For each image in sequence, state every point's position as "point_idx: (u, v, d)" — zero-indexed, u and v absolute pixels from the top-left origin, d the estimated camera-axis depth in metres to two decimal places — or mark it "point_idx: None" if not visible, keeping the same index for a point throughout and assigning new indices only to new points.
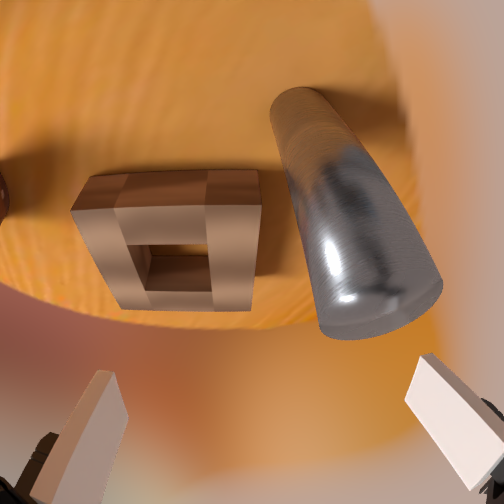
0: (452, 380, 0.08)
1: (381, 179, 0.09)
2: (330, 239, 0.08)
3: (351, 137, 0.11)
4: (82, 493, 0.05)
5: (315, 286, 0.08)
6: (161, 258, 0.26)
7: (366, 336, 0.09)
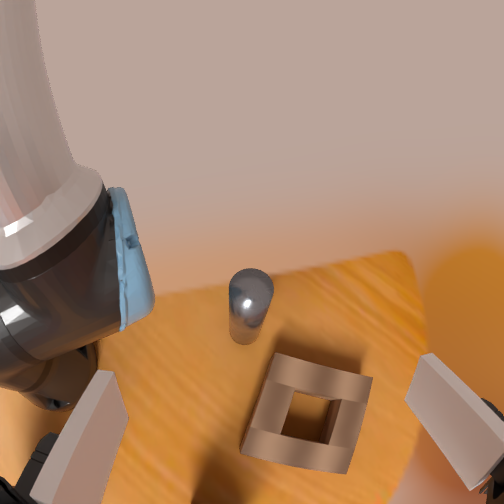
0: (452, 380, 0.08)
1: None
2: (233, 307, 0.26)
3: None
4: (82, 493, 0.05)
5: (243, 311, 0.25)
6: (321, 435, 0.30)
7: (271, 292, 0.25)
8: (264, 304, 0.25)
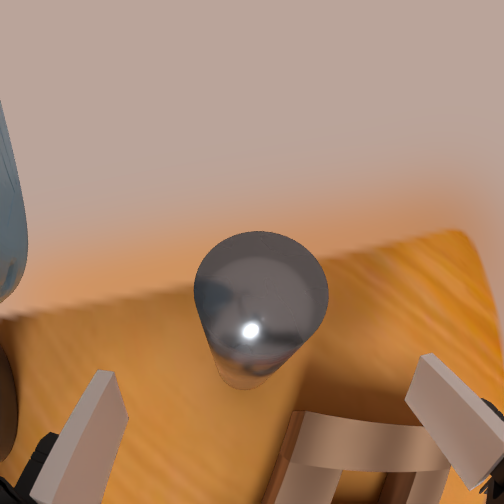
0: (452, 380, 0.08)
1: None
2: (211, 342, 0.09)
3: None
4: (82, 493, 0.05)
5: (239, 357, 0.08)
6: None
7: (321, 299, 0.08)
8: (305, 337, 0.08)
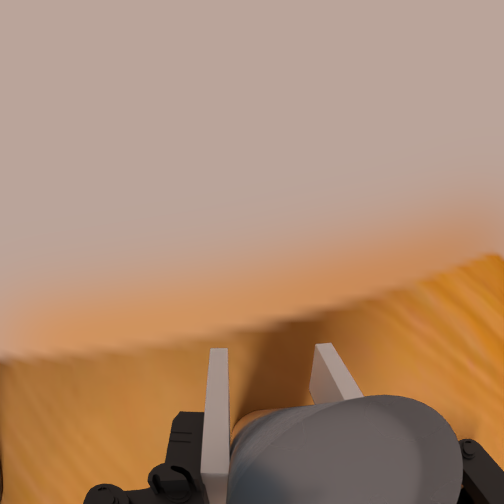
0: (338, 371, 0.10)
1: (243, 435, 0.06)
2: None
3: (239, 430, 0.09)
4: None
5: None
6: None
7: (451, 497, 0.02)
8: None
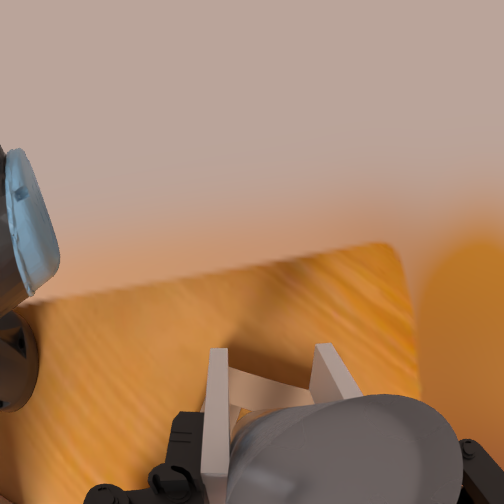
0: (338, 371, 0.10)
1: (243, 435, 0.06)
2: None
3: (239, 430, 0.09)
4: None
5: None
6: None
7: (451, 497, 0.02)
8: None
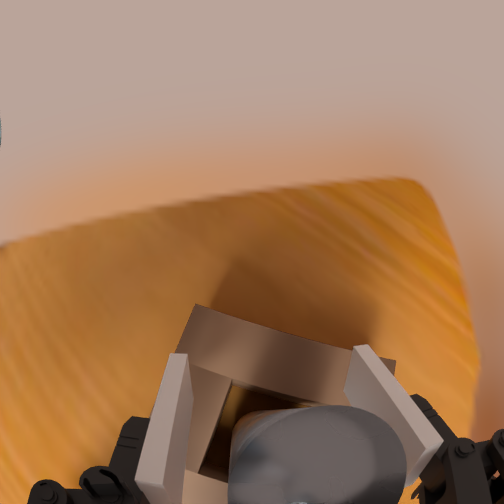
0: (380, 372, 0.10)
1: (241, 432, 0.08)
2: None
3: (238, 428, 0.11)
4: (176, 470, 0.07)
5: None
6: None
7: (397, 486, 0.04)
8: None
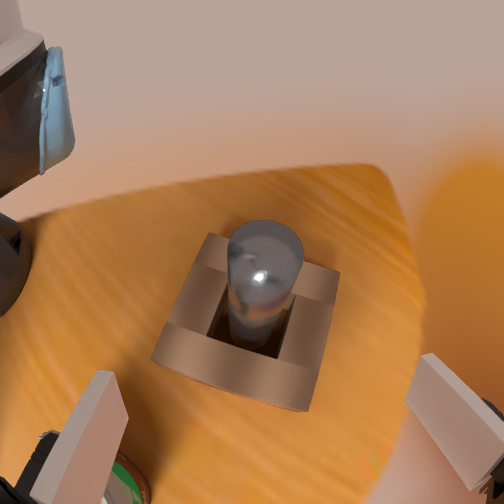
0: (452, 380, 0.08)
1: None
2: (234, 286, 0.16)
3: None
4: (82, 493, 0.05)
5: (252, 292, 0.15)
6: None
7: (300, 258, 0.15)
8: (290, 277, 0.14)
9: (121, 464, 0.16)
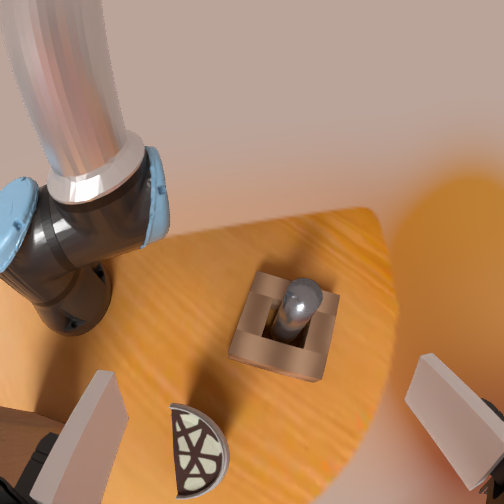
0: (452, 380, 0.08)
1: None
2: (288, 311, 0.31)
3: None
4: (82, 493, 0.05)
5: (298, 314, 0.30)
6: (299, 348, 0.40)
7: (321, 297, 0.30)
8: (316, 307, 0.29)
9: None
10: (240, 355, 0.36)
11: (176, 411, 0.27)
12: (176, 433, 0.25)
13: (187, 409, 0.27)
